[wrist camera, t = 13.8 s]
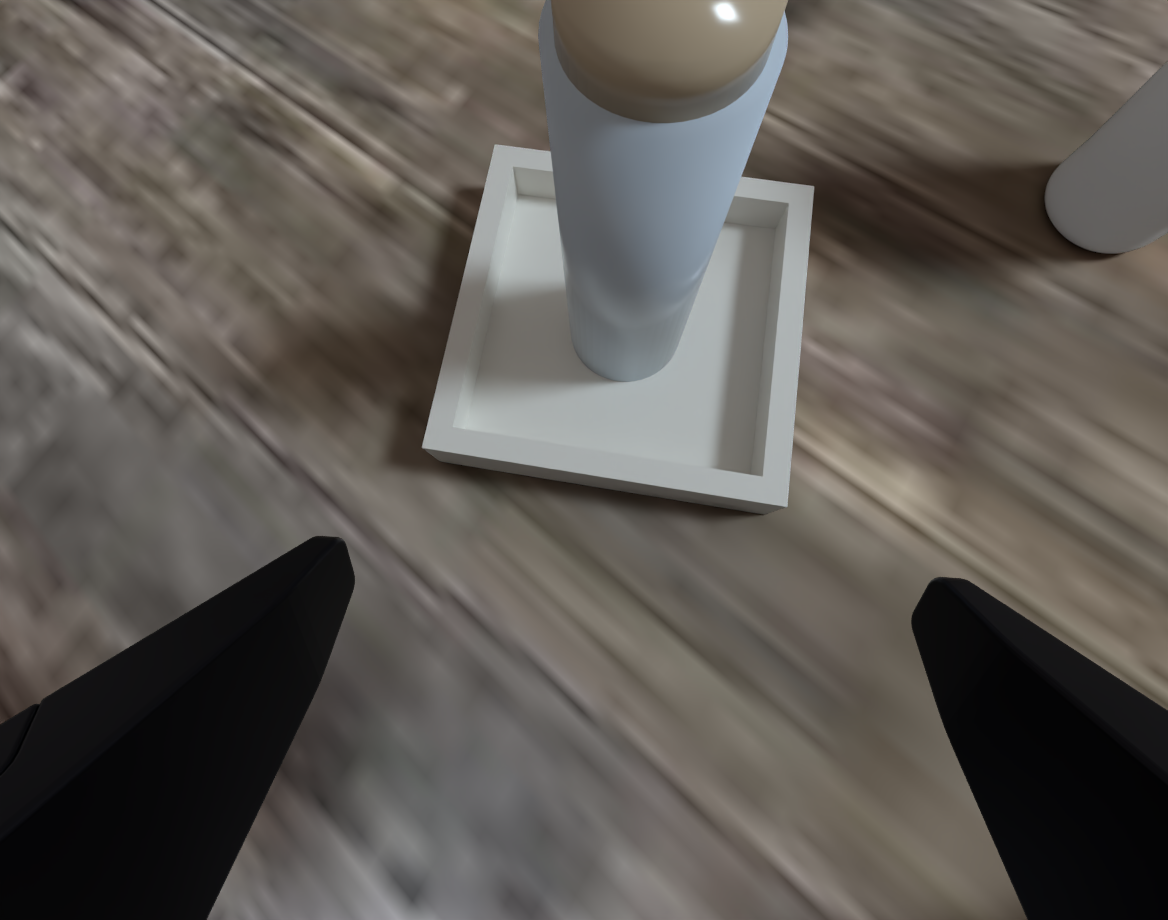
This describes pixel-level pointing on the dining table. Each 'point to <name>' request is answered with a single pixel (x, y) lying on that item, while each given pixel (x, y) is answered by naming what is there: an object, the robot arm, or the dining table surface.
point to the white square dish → (637, 408)
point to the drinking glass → (1117, 177)
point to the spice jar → (649, 157)
